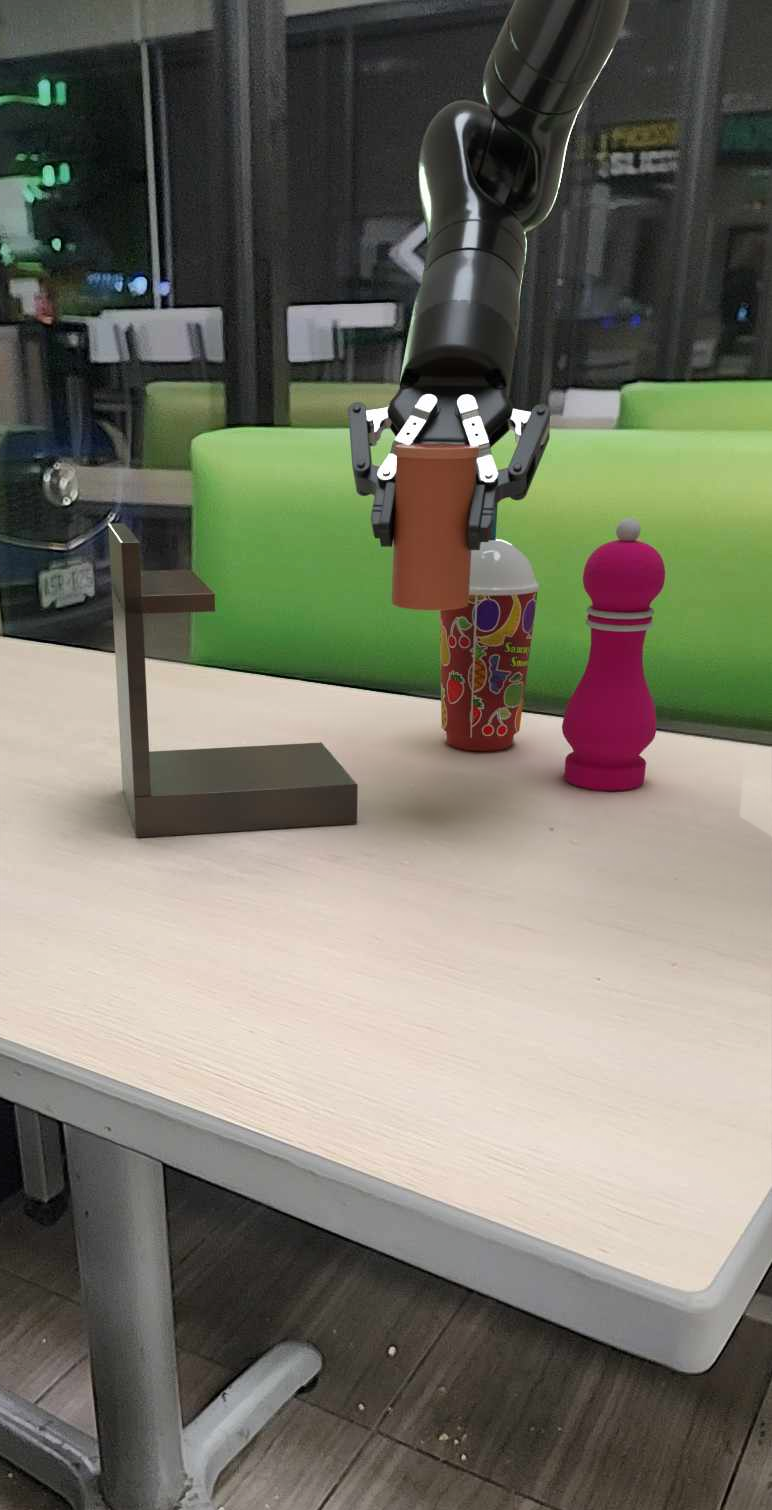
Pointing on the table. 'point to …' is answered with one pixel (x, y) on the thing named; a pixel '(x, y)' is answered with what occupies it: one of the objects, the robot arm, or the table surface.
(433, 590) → the tumbler
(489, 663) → the smoothie
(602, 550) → the pepper mill
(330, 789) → the stand
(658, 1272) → the table surface
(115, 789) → the table surface
